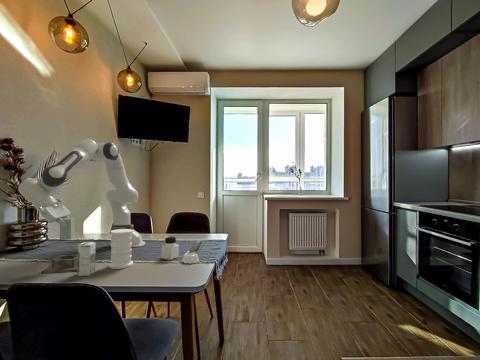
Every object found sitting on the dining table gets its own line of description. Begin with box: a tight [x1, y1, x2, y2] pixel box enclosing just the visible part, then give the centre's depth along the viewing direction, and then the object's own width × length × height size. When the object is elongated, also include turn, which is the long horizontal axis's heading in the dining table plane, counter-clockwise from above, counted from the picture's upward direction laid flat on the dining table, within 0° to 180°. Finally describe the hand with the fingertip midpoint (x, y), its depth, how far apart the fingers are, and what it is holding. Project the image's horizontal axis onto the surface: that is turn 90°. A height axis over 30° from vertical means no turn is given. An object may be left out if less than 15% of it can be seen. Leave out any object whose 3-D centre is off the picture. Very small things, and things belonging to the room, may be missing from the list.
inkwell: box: [181, 239, 203, 264], centre depth 163 cm, size 9×18×10 cm, turn 161°
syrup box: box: [76, 241, 97, 277], centre depth 136 cm, size 6×6×14 cm
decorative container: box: [108, 229, 134, 270], centre depth 150 cm, size 12×12×18 cm
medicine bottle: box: [160, 235, 180, 261], centre depth 166 cm, size 7×7×12 cm
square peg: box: [59, 217, 76, 241], centre depth 146 cm, size 5×5×10 cm
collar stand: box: [41, 254, 78, 274], centre depth 146 cm, size 16×16×5 cm
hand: (68, 224), depth 146 cm, fingers closed on square peg, 5 cm apart
